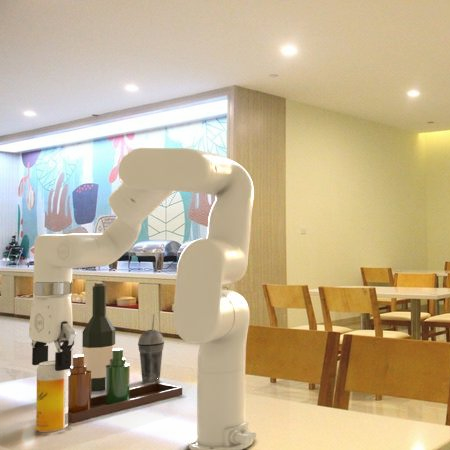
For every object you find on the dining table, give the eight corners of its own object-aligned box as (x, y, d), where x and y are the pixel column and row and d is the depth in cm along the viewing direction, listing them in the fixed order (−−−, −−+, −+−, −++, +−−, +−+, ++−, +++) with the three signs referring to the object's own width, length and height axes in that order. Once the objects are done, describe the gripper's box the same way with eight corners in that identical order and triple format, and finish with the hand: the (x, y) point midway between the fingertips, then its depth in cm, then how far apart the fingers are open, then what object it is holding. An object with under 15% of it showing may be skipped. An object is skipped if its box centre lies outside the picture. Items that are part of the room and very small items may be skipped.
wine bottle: (101, 394, 165) (102, 284, 166) (75, 393, 167) (75, 283, 168) (121, 387, 174) (122, 282, 174) (96, 385, 175) (96, 281, 176)
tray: (182, 397, 163) (182, 387, 163) (71, 426, 138) (72, 414, 138) (157, 391, 168) (157, 382, 168) (47, 418, 144) (47, 407, 144)
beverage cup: (131, 385, 176) (132, 315, 177) (149, 379, 183) (149, 312, 184) (152, 386, 174) (153, 316, 174) (169, 380, 181) (169, 313, 181)
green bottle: (133, 404, 153) (134, 348, 154) (113, 409, 149) (113, 352, 149) (121, 401, 156) (121, 346, 157) (100, 406, 152) (101, 349, 152)
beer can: (40, 427, 136) (41, 360, 137) (70, 425, 138) (71, 359, 139) (32, 436, 131) (33, 366, 131) (64, 433, 132) (65, 364, 133)
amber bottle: (95, 413, 145) (96, 355, 145) (72, 419, 140) (73, 359, 141) (83, 410, 148) (83, 352, 148) (60, 416, 143) (60, 356, 144)
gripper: (15, 288, 137) (14, 365, 136) (56, 293, 127) (54, 375, 127) (50, 286, 143) (48, 359, 143) (91, 290, 133) (89, 369, 133)
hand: (51, 366), depth 135 cm, fingers open, 9 cm apart
